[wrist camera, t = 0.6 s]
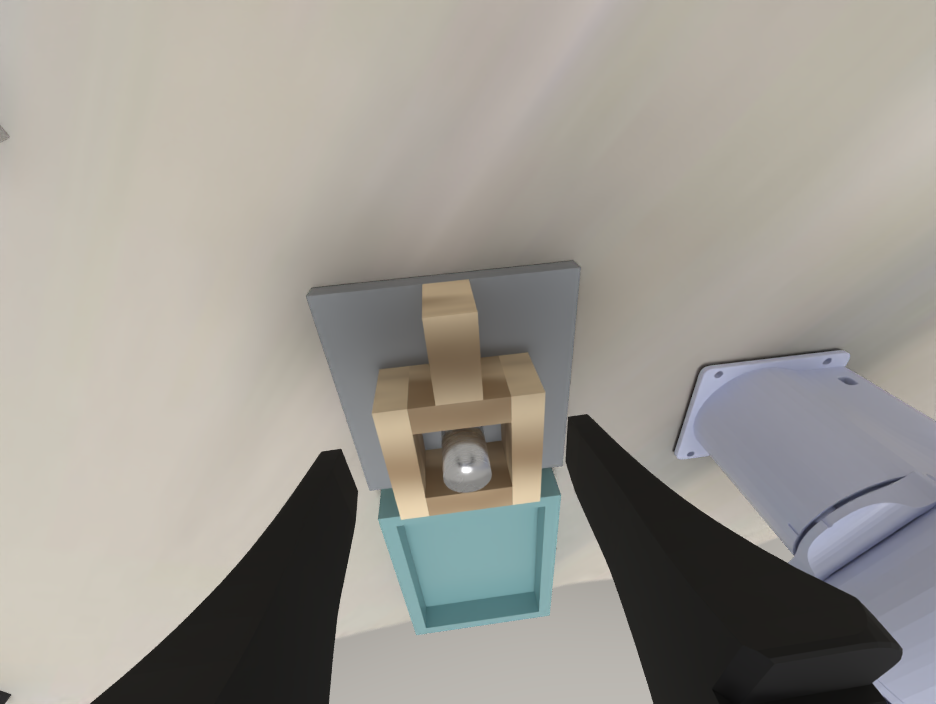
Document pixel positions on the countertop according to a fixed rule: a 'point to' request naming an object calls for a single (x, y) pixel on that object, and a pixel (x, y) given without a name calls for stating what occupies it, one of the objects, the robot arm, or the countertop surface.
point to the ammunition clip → (4, 697)
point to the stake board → (403, 344)
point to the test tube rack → (3, 134)
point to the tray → (475, 561)
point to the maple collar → (459, 411)
